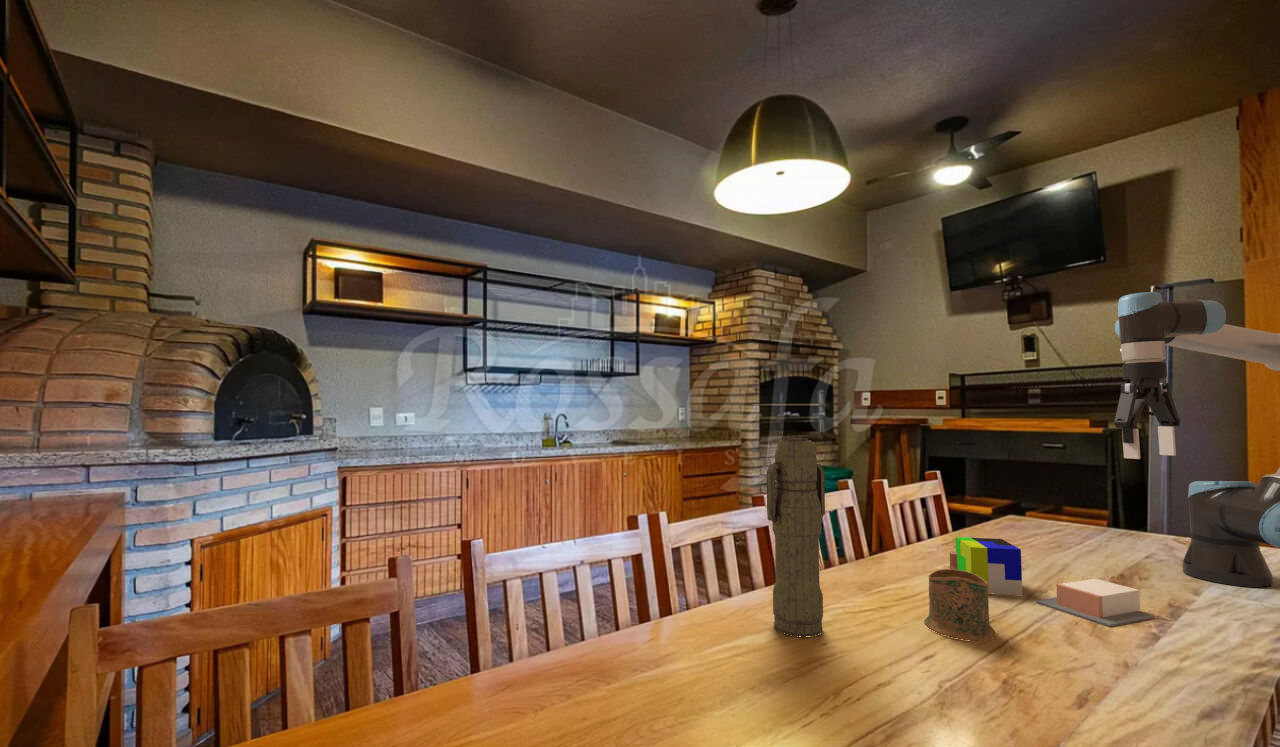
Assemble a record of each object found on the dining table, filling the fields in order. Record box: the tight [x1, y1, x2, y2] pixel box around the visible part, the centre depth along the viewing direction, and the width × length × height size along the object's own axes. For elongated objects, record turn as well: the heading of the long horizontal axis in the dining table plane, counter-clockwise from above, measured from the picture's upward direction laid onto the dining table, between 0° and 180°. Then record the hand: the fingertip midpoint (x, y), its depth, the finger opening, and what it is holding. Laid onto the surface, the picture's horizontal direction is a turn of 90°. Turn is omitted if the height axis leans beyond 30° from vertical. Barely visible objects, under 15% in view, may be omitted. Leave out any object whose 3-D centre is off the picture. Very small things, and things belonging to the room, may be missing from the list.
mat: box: [1035, 596, 1155, 628], centre depth 116 cm, size 13×14×1 cm
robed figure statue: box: [766, 437, 826, 638], centre depth 108 cm, size 9×12×35 cm
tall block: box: [1056, 578, 1141, 618], centre depth 117 cm, size 4×8×12 cm
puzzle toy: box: [955, 536, 1023, 596], centre depth 131 cm, size 10×10×10 cm
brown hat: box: [923, 550, 997, 642], centre depth 110 cm, size 12×18×12 cm, turn 155°
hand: (1150, 457), depth 128 cm, fingers open, 13 cm apart
